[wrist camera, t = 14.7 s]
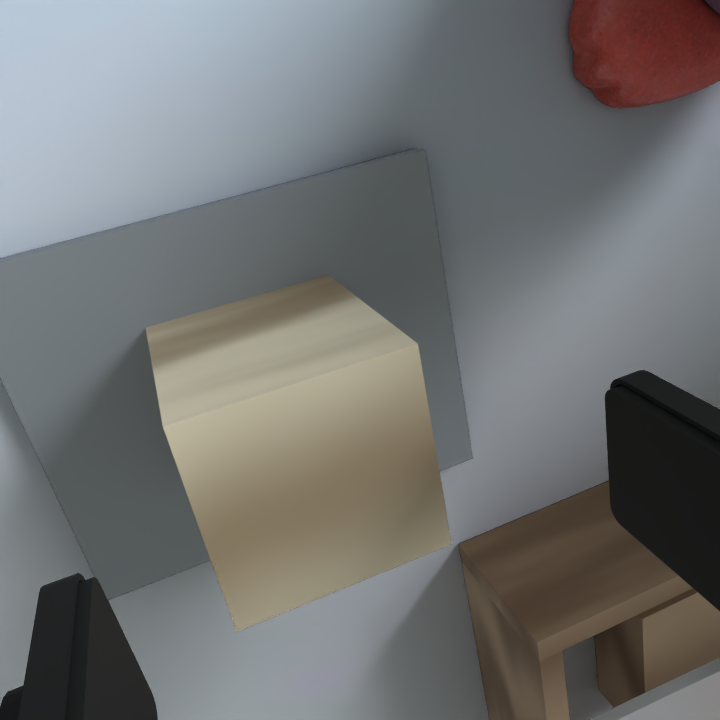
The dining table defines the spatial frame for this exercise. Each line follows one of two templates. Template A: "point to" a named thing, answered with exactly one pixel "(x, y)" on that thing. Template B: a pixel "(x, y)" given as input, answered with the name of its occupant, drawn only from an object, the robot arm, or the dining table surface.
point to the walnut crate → (578, 609)
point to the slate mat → (193, 295)
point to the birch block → (299, 443)
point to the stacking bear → (645, 48)
